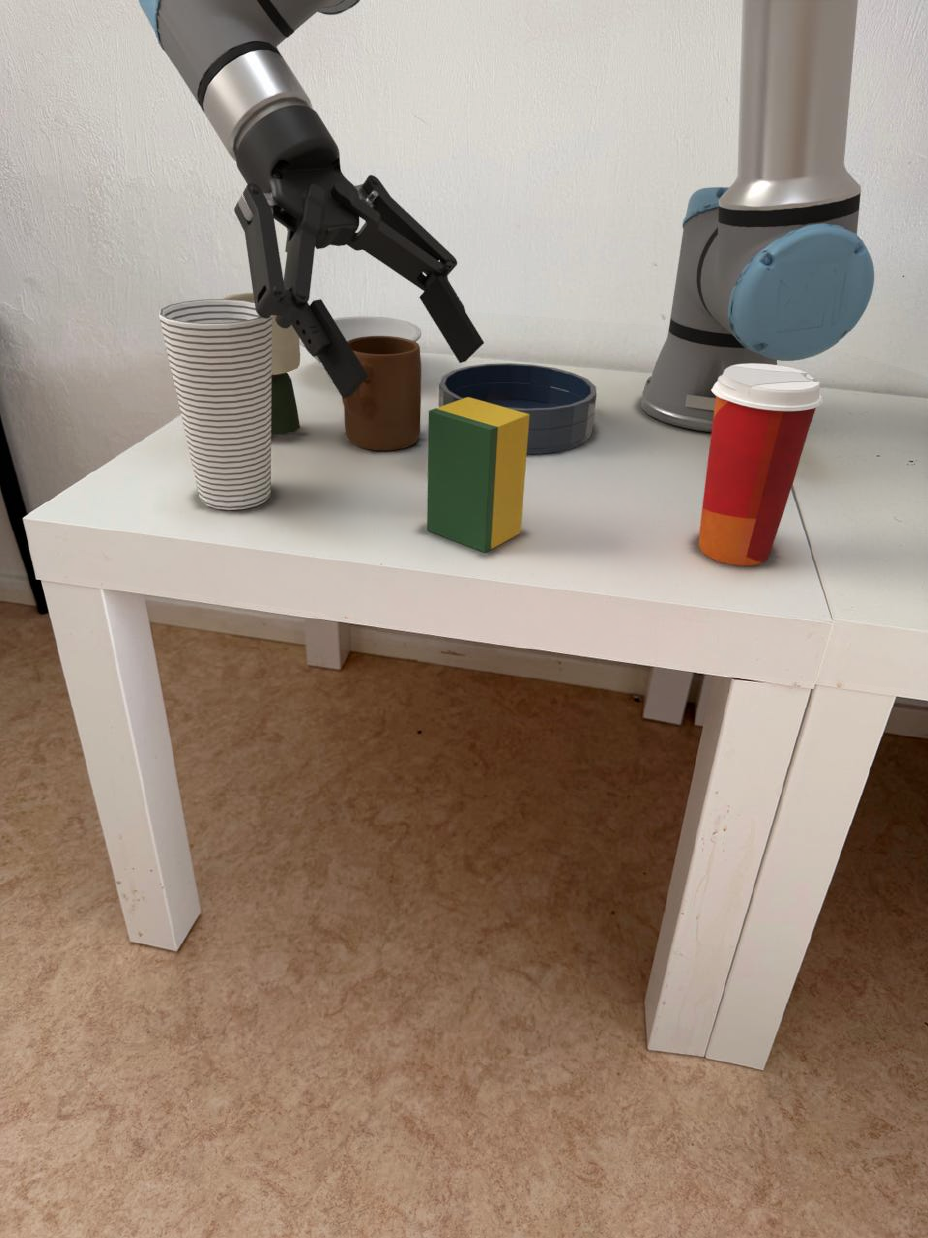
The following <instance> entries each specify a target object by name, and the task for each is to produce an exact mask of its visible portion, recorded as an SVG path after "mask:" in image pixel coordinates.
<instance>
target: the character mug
mask: <svg viewBox="0 0 928 1238" xmlns="http://www.w3.org/2000/svg"><path fill="white" fill-rule="evenodd" d="M221 299H232V300H245V301H251V302H254V295H253V292H243V293H242V292H241V293H235V294H234V293H233V294H230V295H225V296H223V297H222V298H221ZM275 318H276V316H275V315H272V364H271V436H280V435H282V436H284V435H289V434H293V433H296V432H297V431H298V430H299V429H300V428H301V425H300V418H299V411H298V406H297V401H296V396H295V391H294V387H293V380H292V378H291V376H290V374H289V372H292V371H295V370H297V369H298V368H299V367H300V365H301V348H300V346H301V345H300V344H299V336H298V335H297V333H296V331H295V330H294V328H293V326H292V325H291V326H290V327H289V328H286V329H285V328H282V327H280V326H279V325H278V324H277V323H276V321H275Z"/></svg>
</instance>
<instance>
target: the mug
mask: <svg viewBox="0 0 928 1238" xmlns="http://www.w3.org/2000/svg"><path fill="white" fill-rule="evenodd" d="M347 342H348V344H349V345H350V347H351V349H352V350H353V352H354V354H355V355H356V357H357V358H358V360H359V362H360V363H361V365H362V367H363V368H364V370H365V371H366V373H367V375H368V377H367V378H366V379H365V380H364V382H363V383H362V384H361V385H360V386H359V387H358V388H357V389H356V391H355V392H354V393H353V394H352V395H351V396H350V397H347V398H342V397H341V401H342V404H343V412H344V413H343V414H344V415H343V416H344V431H345V436H346V438H347V440H348V441H349V442H350V443H351V444H352V445H354V446H356V447H358V448H361V449H364V450H365V449H366V450H370V451H384V452H385V451H397V450H402V449H405V448H408V447H410V446H412V445H414V444H415V443H416V442H417V441H418V440H419V438H420V434H421V410H422V359H421V358H422V357H421V347H420V344H419V343H418V342H417V341H416V342H415V341H412V340H409V339H406V338H401V337H393V336H366V337H359V338H354V339H351V340H349V341H347Z"/></svg>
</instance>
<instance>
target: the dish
mask: <svg viewBox="0 0 928 1238" xmlns="http://www.w3.org/2000/svg"><path fill="white" fill-rule="evenodd" d="M333 319H334V321H335V323H336V324H337V326H338V328H339V329H340V331H341V332H342V334H343V336H344V337H345V339H346V341H349V340H351V339H354V338H359V337H366V336H393V337H401V338H406V339H409V340H412V341H415V342H416V343H417V342H418V341H419V340H420V339H421V337H422V330H421V329H420V327H419V326H418V325H416V324H414V323H411V322H410V321H407V320H403V319H399V318H393V317H386V316H373V315H371V316H370V315H369V316H366V315H365V316H364V315H363V316H361V315H360V316H359V315H358V316H344V317H343V316H342V317H336V318H333ZM299 345H300V346H301V347H304V348H305V346H304V344H303V343H302V341H301V339H300V338H299ZM305 350H306V351H307V349H306V348H305ZM313 358H314V359H315V360H316V361H317V362H318V363H320V364H322V363H321V362H320V360H319V359H318V357H317V356H314V357H313Z"/></svg>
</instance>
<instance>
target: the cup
mask: <svg viewBox="0 0 928 1238" xmlns="http://www.w3.org/2000/svg"><path fill="white" fill-rule="evenodd" d="M158 313H159V314H158V316H159V321H160V326H161V331H162V335H163V339H164V344H165V349H166V353H167V358H168V362H169V367H170V371H171V375H172V380H173V385H174V389H175V393H176V394H175V395H176V398H177V402H178V407H179V411H180V417H181V420H182V421H181V422H182V425H183V430H184V434H185V438H186V439H185V440H186V443H187V447H188V448H187V449H188V452H189V457H190V461H191V465H192V470H193V474H194V475H193V476H194V480H195V484H196V488H197V493H198V496H199V497H198V498H199V500H200V501H201V502H202V503H203V504H204V505H205V506H207V507H211V508H213V509H216V510H227V511H233V510H235V511H236V510H245V509H250V508H254V507H257V506H260V505H262V504H263V503H265V502H267V500H268V499H269V498H270V497H271V496H272V495H271V494H272V487H271V486H272V435H271V364H272V315H271V317H270V318H268V319H266V318H262V317H261V316H259V315H258V313H257V312H256V309H255V302H251V301H245V300H232V299H222V298H211V299H210V298H206V299H205V298H204V299H195V300H185V301H181V302H175V303H172V304H168V305H166V306H165V307H162V308H161V309H160V310H159V312H158Z"/></svg>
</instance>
